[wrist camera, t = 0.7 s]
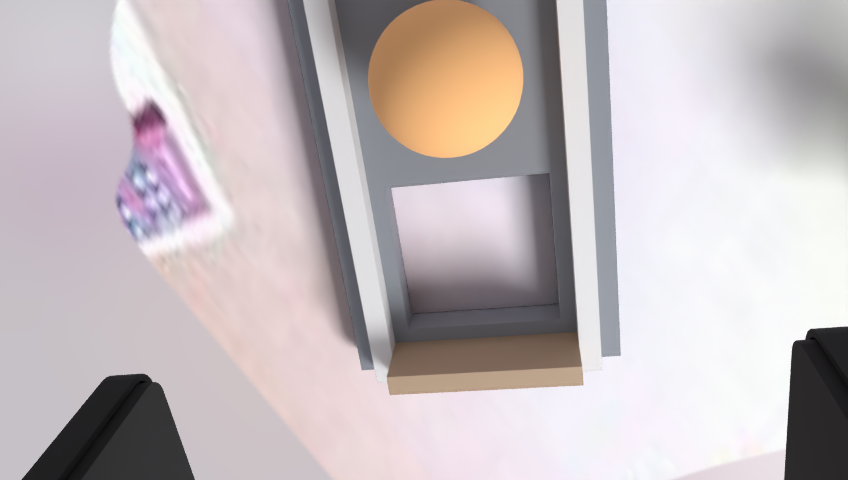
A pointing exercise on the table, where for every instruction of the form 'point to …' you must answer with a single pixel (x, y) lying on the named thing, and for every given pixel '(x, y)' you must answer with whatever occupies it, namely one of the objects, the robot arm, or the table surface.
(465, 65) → the ball
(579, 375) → the railed grey tray
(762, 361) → the table surface
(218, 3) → the table surface
